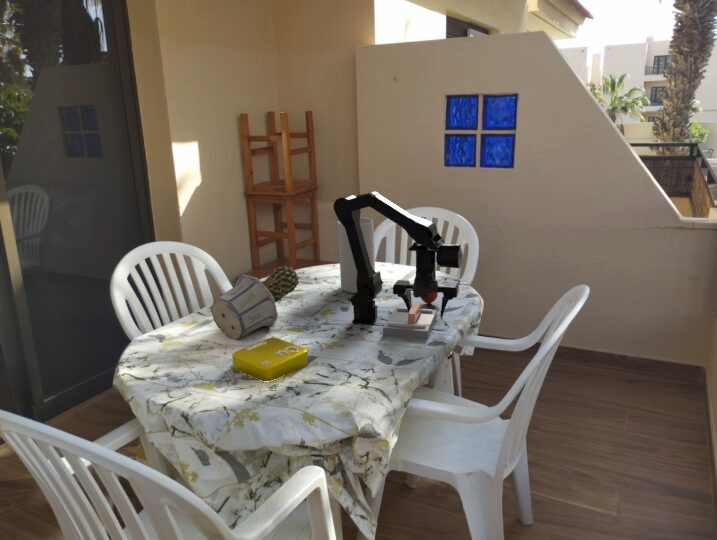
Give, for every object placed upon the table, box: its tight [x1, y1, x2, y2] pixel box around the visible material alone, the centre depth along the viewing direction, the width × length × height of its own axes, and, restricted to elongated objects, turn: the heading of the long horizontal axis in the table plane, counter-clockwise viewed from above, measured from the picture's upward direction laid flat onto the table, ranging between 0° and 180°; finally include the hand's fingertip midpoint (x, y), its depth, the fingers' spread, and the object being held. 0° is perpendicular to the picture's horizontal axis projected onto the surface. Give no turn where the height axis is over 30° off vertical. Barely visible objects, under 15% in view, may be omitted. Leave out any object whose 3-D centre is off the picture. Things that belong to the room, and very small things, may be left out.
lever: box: [408, 301, 422, 323], centre depth 171 cm, size 2×10×3 cm, turn 164°
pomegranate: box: [420, 292, 439, 305], centre depth 189 cm, size 6×6×8 cm
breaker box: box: [382, 306, 438, 340], centre depth 172 cm, size 13×17×3 cm
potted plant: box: [210, 265, 300, 340], centre depth 175 cm, size 18×18×30 cm
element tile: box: [231, 336, 308, 381], centre depth 150 cm, size 15×15×5 cm
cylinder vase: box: [337, 217, 376, 294], centre depth 205 cm, size 12×12×25 cm
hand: (426, 315), depth 170 cm, fingers open, 9 cm apart
